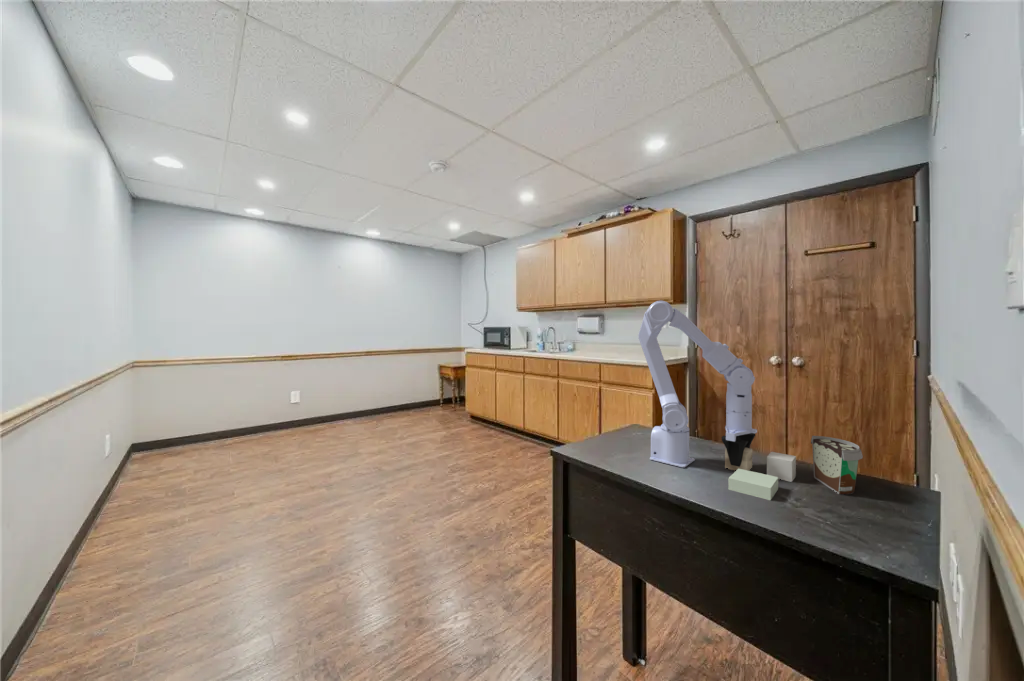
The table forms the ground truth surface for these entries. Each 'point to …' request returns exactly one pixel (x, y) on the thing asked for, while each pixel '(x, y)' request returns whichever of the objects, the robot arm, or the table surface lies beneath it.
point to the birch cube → (746, 460)
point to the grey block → (781, 466)
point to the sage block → (753, 483)
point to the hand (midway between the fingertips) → (738, 462)
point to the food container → (836, 463)
